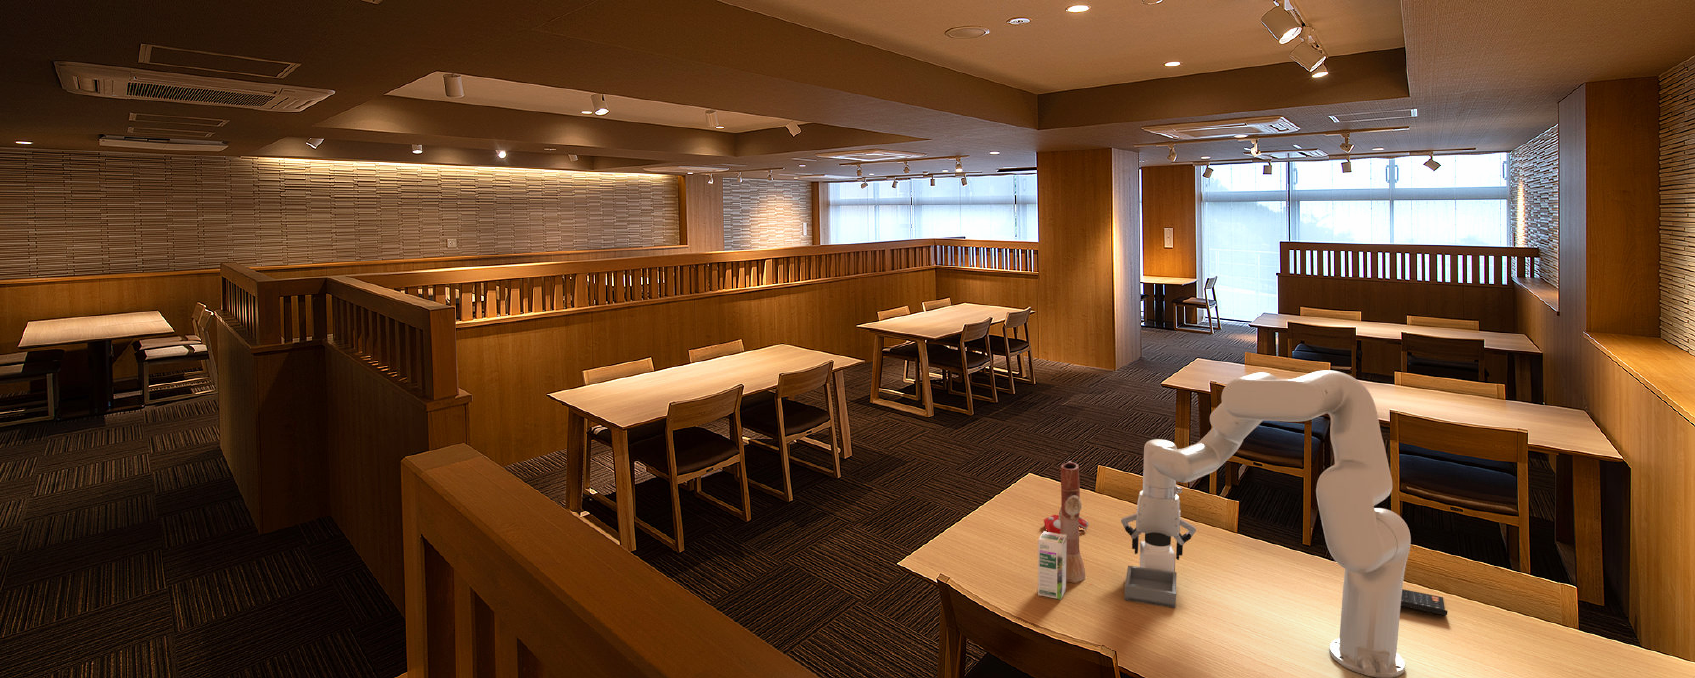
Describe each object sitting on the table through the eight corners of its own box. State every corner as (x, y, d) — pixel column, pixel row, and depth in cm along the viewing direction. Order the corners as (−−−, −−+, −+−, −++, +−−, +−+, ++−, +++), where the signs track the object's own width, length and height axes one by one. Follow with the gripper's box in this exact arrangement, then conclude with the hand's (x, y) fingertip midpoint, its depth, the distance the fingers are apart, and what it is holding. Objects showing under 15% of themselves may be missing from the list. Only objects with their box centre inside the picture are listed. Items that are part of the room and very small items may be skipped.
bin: (1175, 608, 176) (1176, 593, 176) (1124, 599, 181) (1124, 586, 180) (1176, 585, 186) (1176, 572, 186) (1127, 578, 191) (1128, 565, 190)
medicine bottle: (1174, 581, 188) (1176, 535, 186) (1144, 579, 190) (1145, 534, 188) (1168, 568, 195) (1170, 523, 193) (1139, 566, 197) (1140, 522, 195)
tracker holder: (1059, 538, 213) (1035, 518, 221) (1059, 549, 215) (1036, 529, 223) (1092, 520, 217) (1068, 501, 225) (1092, 531, 219) (1068, 512, 228)
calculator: (1442, 600, 175) (1443, 588, 175) (1446, 624, 166) (1447, 611, 166) (1392, 590, 181) (1393, 578, 180) (1393, 612, 171) (1394, 600, 171)
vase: (1057, 566, 199) (1058, 455, 194) (1086, 570, 196) (1088, 458, 191) (1052, 585, 189) (1053, 469, 184) (1083, 589, 186) (1084, 472, 181)
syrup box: (1037, 595, 184) (1037, 539, 182) (1043, 584, 189) (1043, 529, 187) (1061, 600, 182) (1061, 543, 179) (1066, 589, 187) (1067, 533, 184)
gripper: (1197, 488, 189) (1194, 553, 192) (1123, 480, 196) (1121, 543, 199) (1197, 499, 182) (1194, 566, 185) (1120, 491, 189) (1119, 555, 192)
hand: (1156, 554), depth 192 cm, fingers open, 9 cm apart
